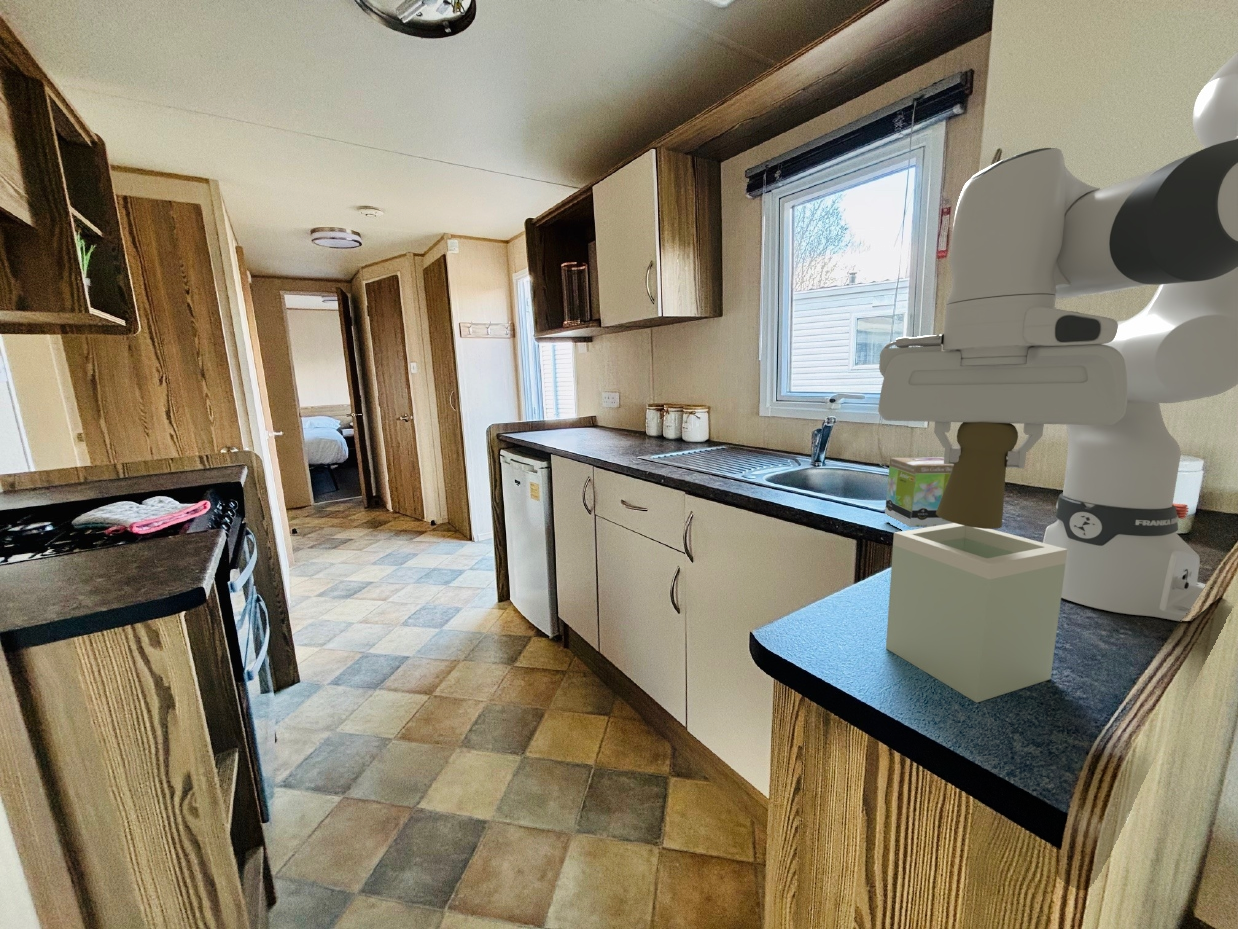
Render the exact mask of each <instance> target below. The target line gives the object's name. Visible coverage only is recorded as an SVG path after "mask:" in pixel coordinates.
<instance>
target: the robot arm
mask: <svg viewBox="0 0 1238 929" xmlns="http://www.w3.org/2000/svg"><path fill="white" fill-rule="evenodd" d="M1193 106H1194V107H1193V112H1192V127H1193V131H1194V134H1195V137H1196V139H1197V140H1198V142H1199V143H1200V145H1202V146H1203V147H1204V148H1203V149H1200V150H1198V151H1195V152H1193V153H1191V154H1187V155H1186V156H1183V157H1181V158H1178V159H1176V160H1174V161H1171V162H1170V163H1168V164H1166V165H1163V166H1161V167H1158V168H1155V169H1152V170H1149V171H1147V172H1144V173H1142V174H1139V175H1136V176H1133V177H1131V178H1128V179H1125V180H1123V181H1120V182H1117V183H1114V184H1111V185H1109V186H1106V187H1103V188H1100V187H1096V186H1093V185H1090V184H1087V183H1086V182H1083V181H1082V180H1081V179H1079V178H1077V176H1075V175H1073V174H1072V173H1071V171H1070V170H1069V169H1068V168H1067V167H1066V164H1065V157H1064V154H1063V151H1062V150H1061V149H1059V148H1057V147H1056V148H1055V147H1054V148H1053V147H1052V148H1051V147H1044V148H1043V147H1042V148H1037V149H1033V150H1028V151H1025V152H1021V153H1018V154H1017V153H1016V154H1014V155H1013V156H1011V157H1008V158H1004V159H1001V160H1000V161H997V162H995V163H993V164H991V165H989V166H988V167H985V168H984V169H982V170H980V171H978V172H976V173H975V174H974V175H972V176H971V178H970V179H969V180H968V181H966V183H965V184H964V186H963V188H962V191H961V192H960V194H959V195H960V196H959V197H958V198H959V199H958V201H957V205H956V208H955V213H954V219H953V224H952V231H951V240H950V249H949V250H950V251H949V253H950V254H949V267H950V271H951V276H952V281H951V282H952V283H951V289H950V291H949V293H948V296H947V299H946V302H945V314H944V316H945V317H944V326H943V334H936V335H923V336H917V337H911V336H903V337H898V338H895V341H891V342H890V343H888V344H885V346H884V347H883V349H882V350H881V351H880V353H879V367H878V369H879V372H880V375H881V376H882V377H883V380H882V384H881V388H880V393H879V394H880V395H879V400H878V401H879V402H878V412H877V413H879V414H878V415H880V417H881V418H882V419H883V420H885V421H887V422H928V423H929V422H932V423H934V427H933V428H934V429H933V434H935V436H936V438H937V439H938V441H939V443H940V444H941V447H942V448H943V449H944V455H943V457H944V464H957V462H958V460H959V456H960V455H961V447H960V446H953V444H952V442H951V441H950V438H949V437H948V436H947V433H949V432H950V431H951V426H952V423H963V422H970V423H977V422H988V423H1010V424H1017V425H1018V424H1019V425H1020V424H1023V433H1024V435H1025V436H1027V437H1026V438H1025V439H1024V440H1023V441H1022V443H1021V444H1020V445H1019V446H1018V447H1017V448H1013V449H1012V450H1011V451H1008V453H1007V460H1006V469H1021V470H1024V469H1025V467H1026V458H1027V453H1028V452H1029V451H1030V450H1031V449H1032V448H1033V447H1034V446H1035V445H1036V444H1037V443H1038V441H1039V440H1040V439H1041V438H1042V437H1043V436H1044V435H1043V434H1044V426H1045V425H1061V426H1062V425H1066V432H1067V455H1066V463H1065V464H1066V465H1065V475H1064V483H1063V490H1062V491H1063V492H1061V493H1060V494H1059V495H1058V500H1057V501H1056V505H1055V506H1056V511H1055V513H1056V514H1055V517H1056V518H1057V520H1056V521H1055V522H1054V523H1051V524H1049V525H1048V526H1047V527H1046V528H1045V533H1044V537H1043V540H1042V543H1046V544H1049V545H1053V546H1057V547H1061V548H1064V549H1068V550H1067V557H1066V565H1065V572H1064V580H1063V588H1062V595H1061V599H1063V600H1067V601H1071V602H1073V603H1076V604H1079V605H1084V606H1086V607H1090V608H1094V609H1098V610H1104V611H1108V612H1113V613H1118V614H1126V615H1135V616H1146V617H1155V618H1160V619H1167V620H1169V621H1170V620H1171V621H1176V622H1181V621H1180V620H1181V619H1182V618H1183V617H1184V616H1185V615H1186V613H1188V611H1189V610H1190V608H1191V607H1192V605H1193V604H1194V602H1195V601H1196V599H1197V597H1199V595H1200V593H1201V592H1202V591H1203V588H1204V587H1205V585H1206V584H1205V583H1202V582H1199V581H1198V578H1199V571H1200V570H1199V569H1200V563H1201V562H1200V561H1201V559H1200V555H1199V553H1197V552H1196V551H1195V550H1194V549H1193V548H1192V547H1191V546H1190V545H1189V544H1188V543H1187V542H1186V541H1184V539H1183V538H1182V537H1181V536H1179V534H1178V533H1176V532H1178V531H1179V525H1178V524H1179V523H1178V522H1179V520H1180V519H1182V520H1183V519H1186V518H1187V515H1188V514H1189V513H1188V512H1189V510H1190V509H1189V506H1188V504H1183V503H1182V504H1181V503H1174V497H1175V492H1176V484H1177V480H1178V473H1179V467H1180V461H1181V456H1182V454H1181V453H1182V450H1181V447H1180V445H1179V443H1178V441H1177V440H1176V439H1175V438H1174V437H1173V436H1172V435H1171V433H1170V432H1169V430H1168V428H1167V426H1166V425H1165V422H1164V419H1163V415H1162V411H1161V406H1160V405H1161V404H1176V403H1177V404H1178V403H1183V402H1187V401H1188V402H1189V401H1190V402H1191V401H1193V400H1200V399H1203V398H1209V397H1213V396H1218V395H1220V394H1222V393H1225V392H1227V391H1230V390H1231V389H1234V388H1235V387H1236V386H1238V51H1237V52H1236V53H1235V54H1234V55H1232V56H1231V57H1230V58H1229V59H1228V60H1227V61H1226V62H1225V63H1224V64H1223V65H1222V66H1220V68H1219V69H1218V70H1217V71H1216V72H1215V73H1214V74H1213V76H1212V77H1211V78H1210V79H1209V80H1208V81H1207V83H1206V84H1204V87H1203V88H1202V89H1201V91H1200V92H1199V94H1198V96H1197V97H1196V100H1195V102H1194V105H1193ZM1154 285H1155V286H1156V285H1157V286H1158V285H1159V286H1158V287H1157V289H1156V291H1155V293H1154V294H1153V296H1152V298H1151V299H1150V301H1149V302H1148V303H1147V305H1146V306H1145V307H1143V309H1142V310H1140V311H1139V312H1138V313H1136V314H1135V315H1134V316H1132V317H1130V318H1128V319H1125V320H1119V321H1118V320H1116V319H1114V318H1111V317H1107V316H1101V315H1095V314H1088V313H1084V312H1082V313H1081V312H1078V311H1072V310H1071V311H1069V310H1067V309H1066V310H1065V309H1059V308H1057V307H1056V299H1057V300H1058V299H1060V300H1061V299H1062V300H1063V299H1071V298H1079V297H1083V296H1084V297H1085V296H1089V295H1095V294H1097V295H1098V294H1099V295H1100V294H1104V293H1105V294H1106V293H1109V292H1111V293H1112V292H1117V291H1123V290H1128V289H1134V288H1135V289H1136V288H1141V287H1147V286H1154ZM892 347H893V348H892Z"/></svg>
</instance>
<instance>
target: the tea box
mask: <svg viewBox="0 0 1238 929" xmlns="http://www.w3.org/2000/svg"><path fill="white" fill-rule="evenodd" d="M888 466H889V467H888V479H887V487H886V488H887V490H886V498H885V511H884V515H885V514H887V515H888V516H890V517H892V518H894V519H896V520H898V521H900V522H902V523H903V524H906V525H907V526H909V527H923V528H924V527H932V526H938V525H944V524H951V523H953V522H950V521H947V520H944V519H942V518H940V517H938V516H937V515H936V511H937V509H938V506H939V503H940V501H941V498H942V495H943V493H944V490H945V487H946V485H947V482H948V479H949V477H950V474H951V471H952V469H953V466H954V464H944V456H937V457H936V456H935V457H934V456H932V457H930V456H929V457H927V456H923V457H890V461H889V465H888Z"/></svg>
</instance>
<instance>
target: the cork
mask: <svg viewBox="0 0 1238 929" xmlns="http://www.w3.org/2000/svg"><path fill="white" fill-rule="evenodd" d="M1018 432H1019V431H1018V430H1017V428H1016V426H1015V425H1014V424H1013V423H988V422H977V423H970V422H961V424H960V425H959V427H958V429H957V432H956V441H957V444H958V445H959V446H958V447H961V455H960V456H959V460H958V462H957V464H954V466H953V469H952V471H951V474H950V477H949V479H948V482H947V485H946V487H945V490H944V493H943V495H942V498H941V501H940V503H939V506H938V509H937V511H936V515H937V516H938V517H940V518H942V519H944V520H947V521H950V522H953V523H956V524H960V525H964V526H969V527H975V528H983V529H993V530H996V529H1000V528H1002V526H1003V512H1004V501H1005V499H1004V498H1005V485H1006V472H1007V468H1006V460H1007V453H1008V451H1011V450H1012V449H1015V447H1016V445H1017V443H1018V439H1019V433H1018Z"/></svg>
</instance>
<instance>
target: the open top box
mask: <svg viewBox="0 0 1238 929" xmlns="http://www.w3.org/2000/svg"><path fill="white" fill-rule="evenodd" d="M892 541H893V542H892V552H891V554H892V556H891V569H890V570H891V571H890V581H889V583H890V585H889V586H890V587H889V596H888V610H887V611H888V612H887V613H888V614H887V626H886V628H887V629H886V639H885V649H886V650H888V651H890V652H892V653H893V654H895V655H896V656H898V657H900V658H901V659H903V660H905V661H906V662H908V663H910V664H912V665H914V667H916V668H917V669H920V670H921V671H923V672H925V673H926V674H928V675H929V676H930V677H933V678H935V679H936V680H938V681H940V682H941V683H943V684H944V685H946V686H949V688H952V689H953V690H955V691H956V692H957V693H960V694H961V695H963V696H965V697H966V698H968V699H969V700H971V701H973V702H974V703H976V704H977V703H980V702H983V701H987V700H989V699H992V698H996V697H998V696H1002V695H1005V694H1008V693H1011V692H1014V691H1017V690H1022V689H1025V688H1028V687H1030V686H1033V685H1037V684H1039V683H1042V682H1046V681H1048V680H1051V678H1052V671H1053V663H1054V656H1055V655H1054V654H1055V647H1056V640H1057V634H1058V633H1057V632H1058V624H1059V617H1060V610H1061V601H1062V598H1061V595H1062V588H1063V580H1064V572H1065V565H1066V557H1067V550H1068V549H1064V548H1061V547H1057V546H1053V545H1049V544H1046V543H1043V541H1037V540H1035V539H1029V538H1026V537H1023V536H1019V535H1015V534H1012V533H1008V532H1004V531H1000V530H996V529H983V528H975V527H969V526H964V525H960V524H956V523H951V524H944V525H938V526H932V527H925V528H919V529H913V530H906V531H901V530H899V531H896V532H893V540H892Z"/></svg>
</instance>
